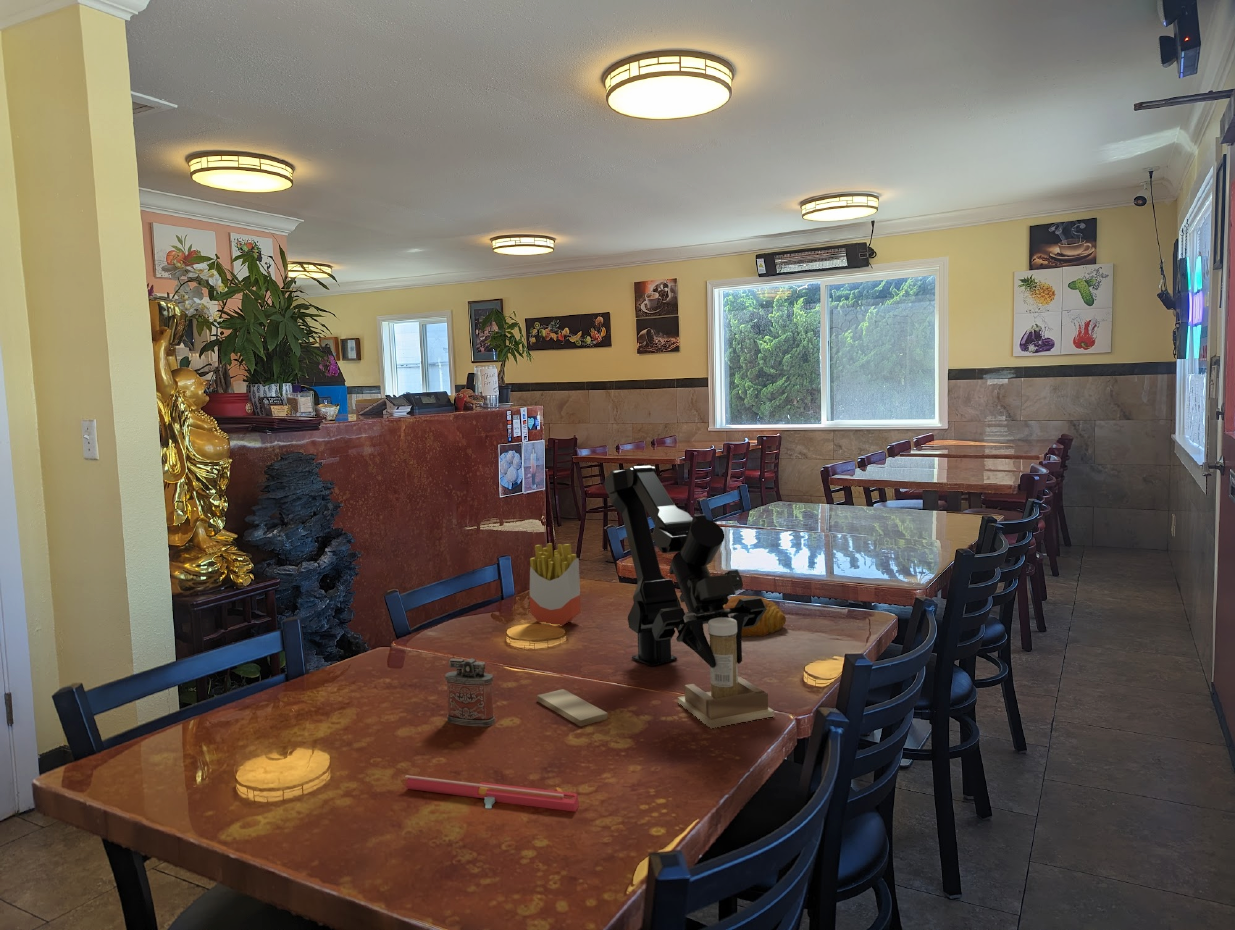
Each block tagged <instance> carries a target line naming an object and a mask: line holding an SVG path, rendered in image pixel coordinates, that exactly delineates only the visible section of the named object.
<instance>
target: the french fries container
mask: <svg viewBox="0 0 1235 930" xmlns="http://www.w3.org/2000/svg"><path fill="white" fill-rule="evenodd" d="M542 546H543V545H542V544H536V545H534V550H535V551H534V552H535V556H534V557H533V556H532V557H531V558H529V563H530V564H529V565H530V566H529V569H530V570H529V612H530V614H531V615H532V616H533V618H535V620H536V621H537V622H538V623H539V622H546V623H551V624H560V625H564V624H566V623H568V622H570V621H571V622H572V621H573V620H575V619H576V618H577V617H578V616H579V614H581V610H582V609H581V589H580V588H581V587H580V586H581V585H580V584H581V583H580V582H581V581H580V561H579V560H580V559H579V557H577V554H576V553H575V554H574V553H572V544H571V543H565V544H561V543H559V544H557V549H555V550H553V543H552V542H551V543H550V542H549V543H547V544H546V547H542ZM571 622H570V623H571ZM568 624H569V623H568ZM566 625H567V624H566ZM564 626H565V625H564Z"/></svg>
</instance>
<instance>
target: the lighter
mask: <svg viewBox="0 0 1235 930" xmlns="http://www.w3.org/2000/svg"><path fill="white" fill-rule="evenodd" d="M448 668H449V669H456V671H455V670H454V671H450V672H446V673H445V675H444V676H445V681H446V691H447V693H446V695H447V711H448V712H447V713H448V714H447V715H446V717H447V722H448V723H452V724H456V725H461V726H469V727H472V726H473V727H488V726H489V727H490V726H493V725H494V724H495V723H496V720H495V718H496V717H495V715H494V701H493V700H494V699H493V696H494V695H493V681H494V679H493V678H494V676H493V674H491V673H485V670H486V663H485V662H484V661H477V660H476V659H475V658H473V657H471V658H469V659H467V660H465V659H462V658H461V659H460V658H451V659H449V661H448Z"/></svg>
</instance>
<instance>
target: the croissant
mask: <svg viewBox="0 0 1235 930" xmlns="http://www.w3.org/2000/svg"><path fill="white" fill-rule="evenodd" d="M751 597H759V598H761V599H762V600H763V601H764V603H765V606H766V608H767V610H766V611H765V613H764V614H763V616H762V617H761V619H760V620H759V622H758V623H757V625H755V626H753V627H749V628H742V635H741V637H765V636H768V635H769V634H773V633H775V632H777V631H779V630H781V629H782V628H783V626H784V625H785V624H786V622H787V617H786V615H785V614H784V611H782V610H781V608H780V607H779V606H778V605H777V603H775V602H774V601H771V600H770V599H767V598H765V597H762V596H757V595H742V594H741V595H740V594H734V595H732V596H729V597H728V599H729V601H728V603H727V604H725V605H724V606H723V607H724V609H729V608H734V607H735V606H736V604H737V602H738V601H739V599H743V598H751Z"/></svg>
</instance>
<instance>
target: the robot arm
mask: <svg viewBox="0 0 1235 930" xmlns="http://www.w3.org/2000/svg"><path fill="white" fill-rule="evenodd" d="M608 474H609V475H606V476H605V478H604V488H605V489H604V490H605V491H606V494H608V497H609V500H610V504H611V506H613V508H614V509H616V511H618V512H619V514H621V517H622V520H623V525H624V529H625V532H626V538H627V541H628V545H629V550H630V553H631V558H632V564H633V567H634V571H635V577H636V580H637V581H636V582H637V585H636V586H635V590H634V593H633V596H632V600H633V605H632V606H631V609H630V611H629V613H628V615H627V622H628V628H629V629H630V630H632V631H633V632H635V633H636V634H637V652H638V653H637V654H634V655H631V659H632V660H634V661H637V662H639V663H642V664H645V665H647V666H649V667H654V666H658V665H661V664H665V663H669V662H672V661H677V660H678V656H676V655H674V654H673V655H672V638H673V637H674V635H675V634H676V631H677V636H676V638H675V639H676V642H678V643H683V644H685V645H686V646H687V647H688V648H690V649H691V650H692V651H693V652H695V654H696V655H698V656H699V657H700V658H701V659H702V661H704V662H705V663H706V664H707V665H708V666H709V668H710V667H711V668H714V667H715V666H716V662H715V659H714V656H713V653H712V651H711V648H710V642H709V641H708V639H707V637H706V634H705V630H704V625H706V624H707V625H708V622H709V620H711V619H714V618H732V619H734V620H736V621H737V635H736V645H737V665H739V664H741V663H742V662H743V646H742V645H743V642H742V636H741V635H742V628H749V627H753V626H755V625H757V623H758V622H759V620H760V619H761V617H762V616H763V614H764V613H765V611H766V610H767V608H766V606H765V603H764V601H763V600H762V599H761V598H759V597H760V596H757V597H751V598H743V599H739V601H738V602H737V604H736V606H735V607H734V608H729V609H724V607H723V606H724V605H725V604H727V603H728V601H729V597H731V595H732V596H735V595H737V594H736V591H739V590H742V588H744V582H743V578H742V575H741V574H740V572H739V569H732V570H728V571H726V572H724V574H723V575H711V573H710V569H709V568H708V565H710V564H711V563H712V562H713V560H714V559H715V558H716V555H717V553H718V552H719V550H720V548H721V546H722V545H723V542H724V540H725V531H724V529H723V528H722V527H720V525H719V524H718V523H716V522H714V521H712V520H710V519H707V516H706V514H697V515H696V514H695V515H693V517H692V515H690V513H688V512H687V511H685V510H683V509H680V508H678V507H677V506H676V505H675V503H674V501H673V500H672V498H671V496H670V495H669V494H668V491H667V490H666V489H665V487H664V485H663V484H662V482H661V480H660V479H659V478H658V476H657V475H658V473H657V469H656V467H655V466H651V465H649V464H648V465H636V466H635V465H633V466H631V467H629V468H626V469H621V470H618V469H617V470H611V471H610V472H609V473H608ZM647 513H648V515H647ZM648 516H649V517H650V519H651V521H652V523H653V525H654V528H653V534H652V531H651V526H650V522H649V519H648ZM655 546H656V547H655ZM656 548H658V550H659V551H660V553H662V554H671V553H675V554H674V555H673V557H672V559H671V561H670V566H669V570H668V571H669V572H668V573H669V575H674V577H675V580H676V582H677V584H678V585H677V586H678V588H679V590H680V593H681V594H680V595H679V597H678V594H677V592H676V587H675V582H674V581H673V579H672V578H666V577H665V576H664V575H663V574H662V571H661V570H662V569H661V567H660V562H659V560H658V555H657V551H656ZM681 603H685V606H686V609H687V611H686V612H685V611H684V610H685V609H684V608H683V607H682V606H681Z"/></svg>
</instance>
